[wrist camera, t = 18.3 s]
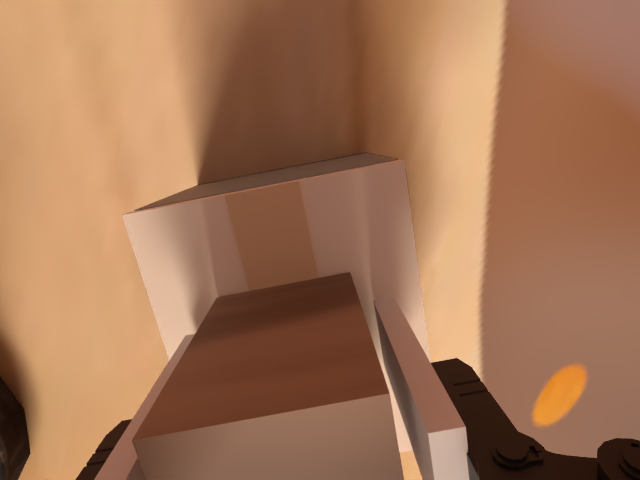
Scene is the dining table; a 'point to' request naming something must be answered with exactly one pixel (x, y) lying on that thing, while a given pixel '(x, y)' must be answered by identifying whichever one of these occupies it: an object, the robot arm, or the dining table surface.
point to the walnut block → (276, 393)
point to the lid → (284, 249)
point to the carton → (272, 178)
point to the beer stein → (12, 435)
